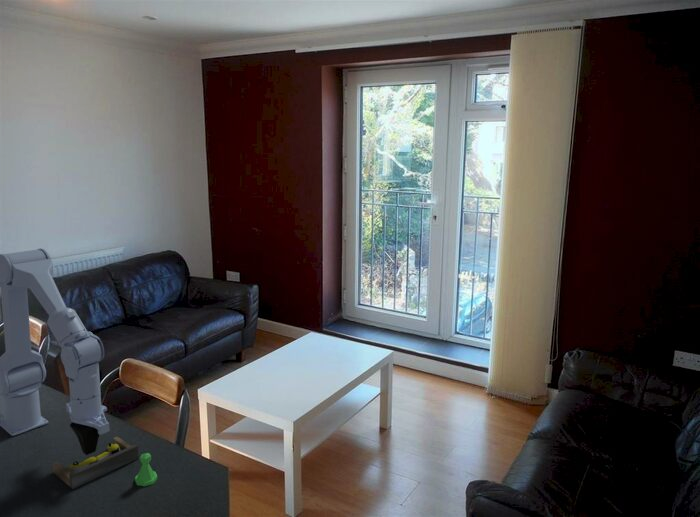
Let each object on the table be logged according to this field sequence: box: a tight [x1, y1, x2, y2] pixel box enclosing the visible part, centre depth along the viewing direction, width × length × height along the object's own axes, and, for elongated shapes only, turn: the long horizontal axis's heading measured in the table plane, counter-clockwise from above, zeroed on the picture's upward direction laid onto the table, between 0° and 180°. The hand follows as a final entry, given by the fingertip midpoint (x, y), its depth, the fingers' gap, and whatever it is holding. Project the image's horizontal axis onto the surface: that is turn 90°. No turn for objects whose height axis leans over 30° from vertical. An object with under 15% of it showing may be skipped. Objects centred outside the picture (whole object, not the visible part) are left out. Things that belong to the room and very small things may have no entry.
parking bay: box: [52, 436, 139, 490], centre depth 111 cm, size 8×14×3 cm, turn 142°
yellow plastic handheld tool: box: [67, 442, 120, 473], centre depth 112 cm, size 10×6×4 cm, turn 152°
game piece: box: [134, 452, 158, 487], centre depth 107 cm, size 4×4×6 cm
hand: (89, 452), depth 113 cm, fingers closed
